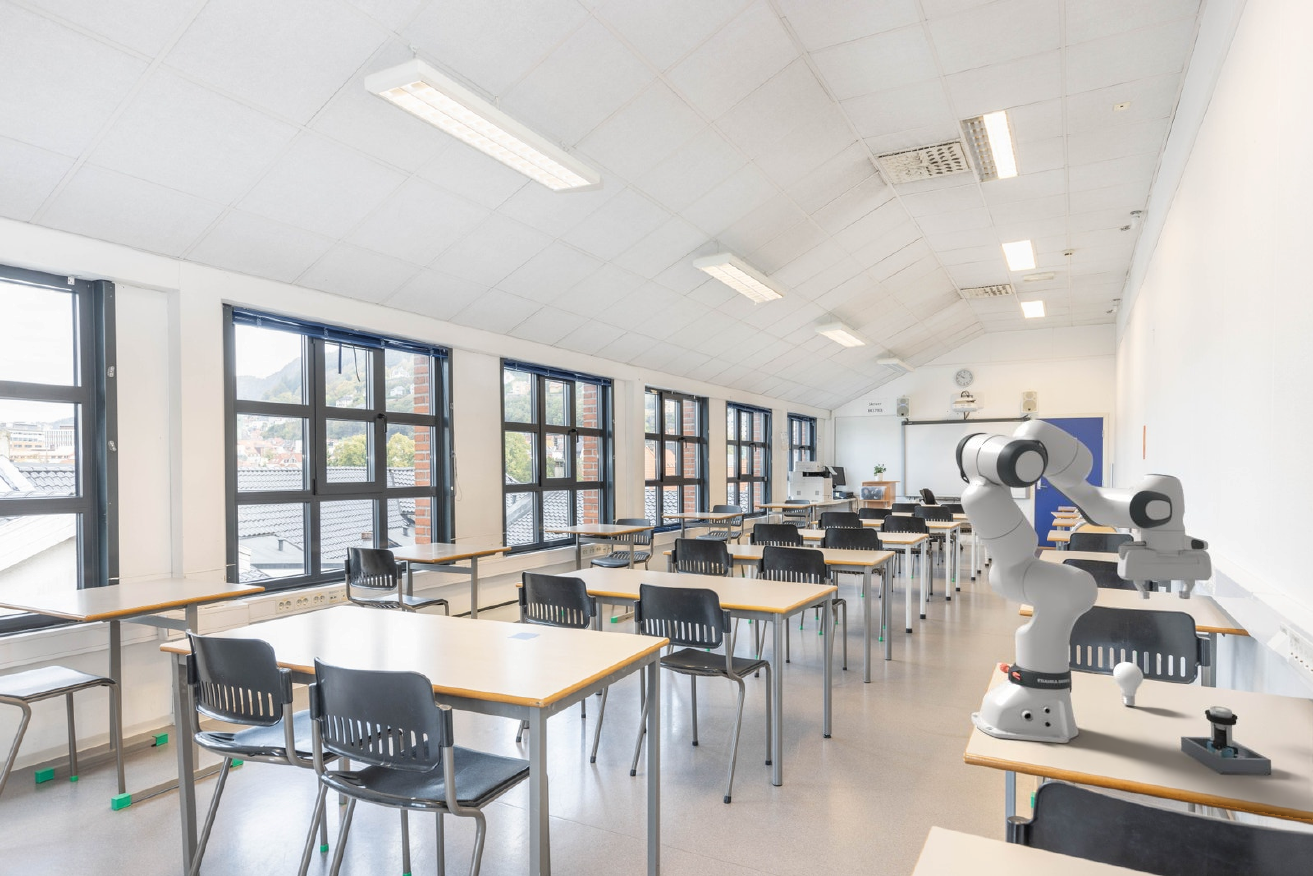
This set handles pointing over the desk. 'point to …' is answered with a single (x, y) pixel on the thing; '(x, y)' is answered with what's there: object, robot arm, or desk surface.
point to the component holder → (1226, 766)
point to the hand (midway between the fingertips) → (1164, 598)
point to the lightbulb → (1128, 681)
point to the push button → (1222, 732)
